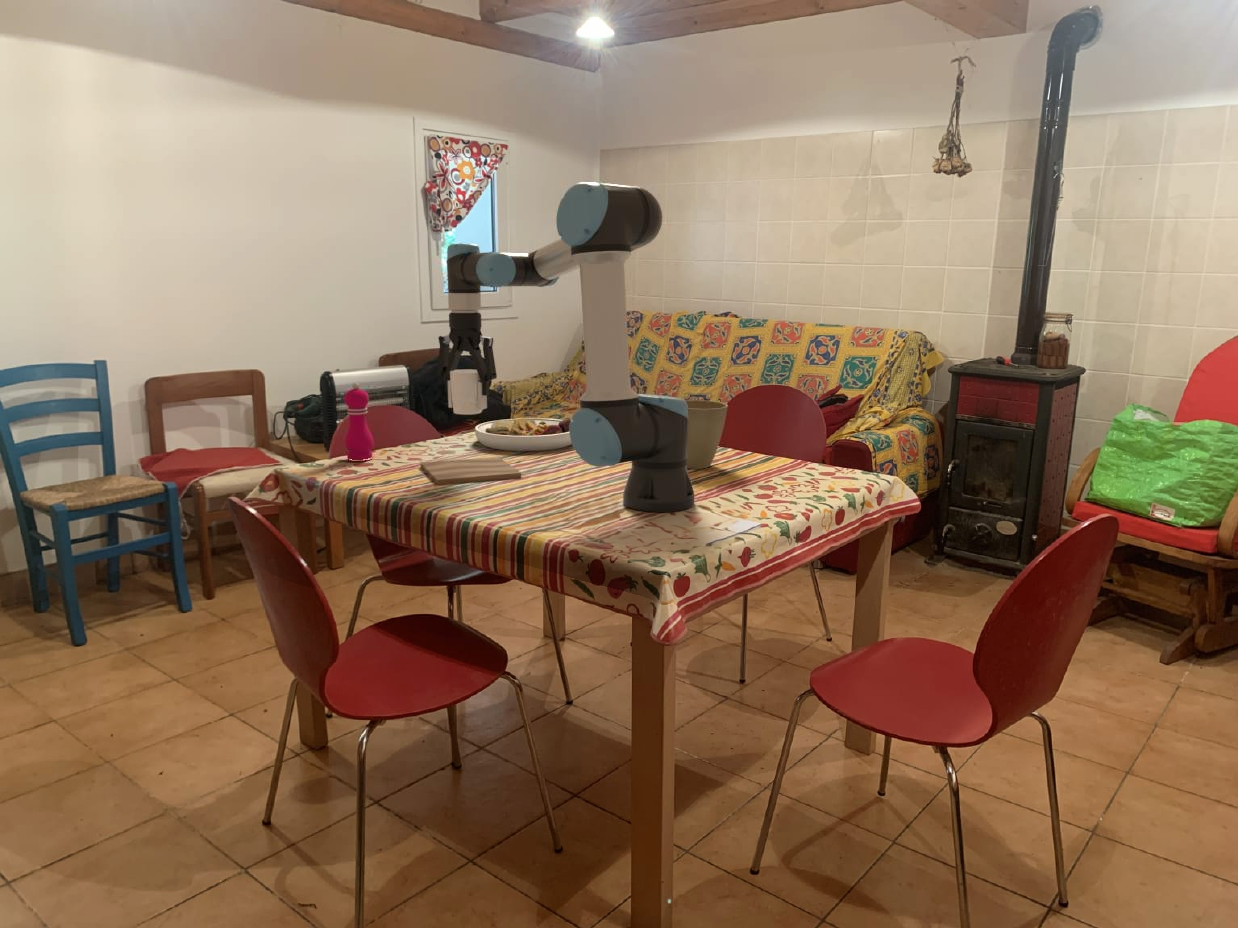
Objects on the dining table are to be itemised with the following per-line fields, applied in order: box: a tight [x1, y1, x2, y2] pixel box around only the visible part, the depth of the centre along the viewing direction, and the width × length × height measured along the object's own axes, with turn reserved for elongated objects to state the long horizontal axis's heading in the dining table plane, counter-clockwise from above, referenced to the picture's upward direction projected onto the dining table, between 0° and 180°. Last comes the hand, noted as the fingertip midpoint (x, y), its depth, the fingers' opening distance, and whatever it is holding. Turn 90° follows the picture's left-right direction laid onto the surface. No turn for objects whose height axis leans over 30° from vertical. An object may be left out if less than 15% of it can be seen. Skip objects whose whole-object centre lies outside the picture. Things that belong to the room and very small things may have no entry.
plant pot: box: [683, 399, 729, 470], centre depth 224 cm, size 15×15×16 cm
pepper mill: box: [343, 382, 375, 460], centre depth 229 cm, size 7×7×20 cm
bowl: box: [474, 417, 572, 452], centre depth 255 cm, size 30×30×8 cm
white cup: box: [450, 368, 483, 416], centre depth 213 cm, size 8×8×10 cm
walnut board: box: [420, 456, 522, 486], centre depth 217 cm, size 20×20×1 cm
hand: (467, 407), depth 214 cm, fingers closed on white cup, 8 cm apart
